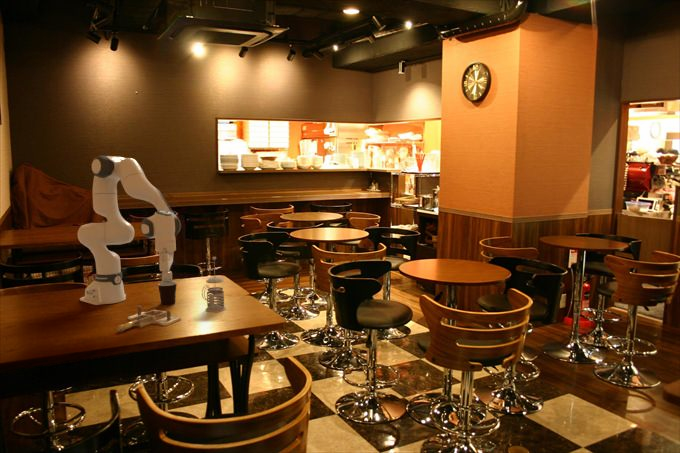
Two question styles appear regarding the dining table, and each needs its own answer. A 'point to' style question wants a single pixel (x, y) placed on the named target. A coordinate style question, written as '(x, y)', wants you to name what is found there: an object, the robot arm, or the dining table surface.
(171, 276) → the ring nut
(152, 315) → the cradle
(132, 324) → the pin
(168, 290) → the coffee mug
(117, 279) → the robot arm
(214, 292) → the french press
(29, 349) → the dining table surface
